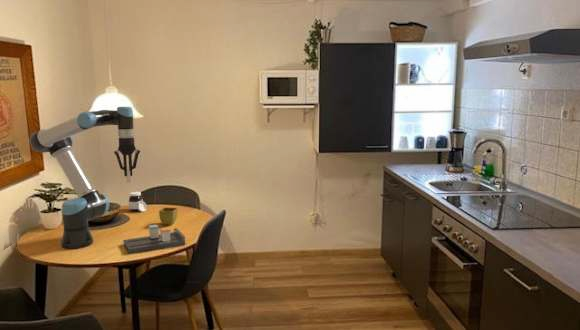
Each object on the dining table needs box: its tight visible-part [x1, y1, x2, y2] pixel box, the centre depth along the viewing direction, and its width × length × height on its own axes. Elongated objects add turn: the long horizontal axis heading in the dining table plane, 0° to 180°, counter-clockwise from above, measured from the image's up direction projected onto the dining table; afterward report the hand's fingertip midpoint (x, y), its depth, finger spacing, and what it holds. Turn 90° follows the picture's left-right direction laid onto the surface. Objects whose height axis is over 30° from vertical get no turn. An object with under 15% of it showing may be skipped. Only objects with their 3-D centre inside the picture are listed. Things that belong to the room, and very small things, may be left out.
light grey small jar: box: [148, 224, 160, 239], centre depth 244 cm, size 4×4×6 cm
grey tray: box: [122, 227, 186, 255], centre depth 241 cm, size 28×16×5 cm, turn 119°
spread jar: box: [128, 191, 148, 213], centre depth 306 cm, size 12×11×12 cm
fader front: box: [159, 227, 171, 242], centre depth 239 cm, size 4×4×6 cm
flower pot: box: [158, 207, 179, 226], centre depth 276 cm, size 9×9×9 cm
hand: (128, 182), depth 241 cm, fingers closed
